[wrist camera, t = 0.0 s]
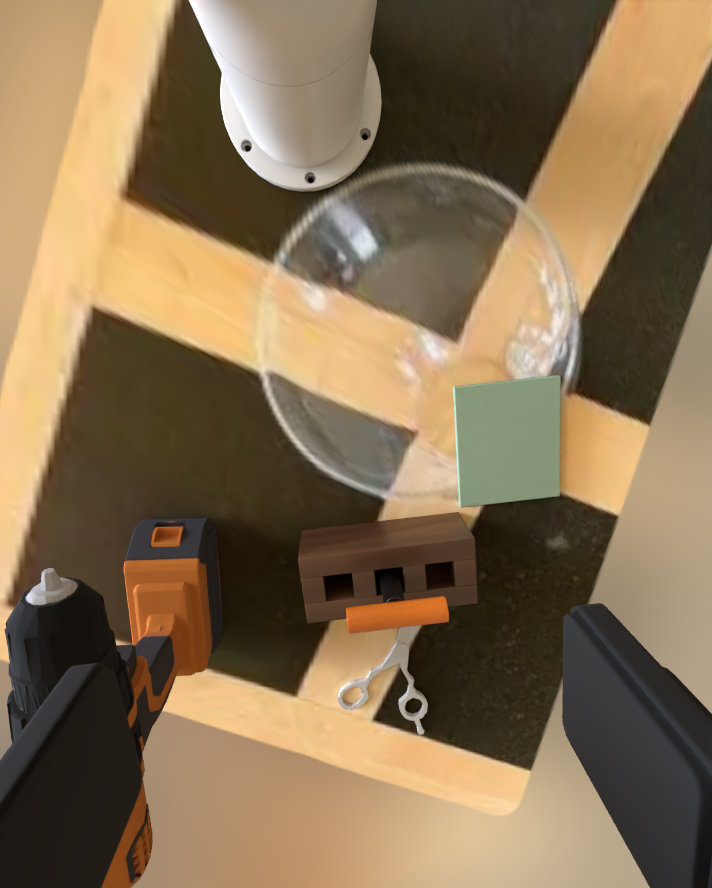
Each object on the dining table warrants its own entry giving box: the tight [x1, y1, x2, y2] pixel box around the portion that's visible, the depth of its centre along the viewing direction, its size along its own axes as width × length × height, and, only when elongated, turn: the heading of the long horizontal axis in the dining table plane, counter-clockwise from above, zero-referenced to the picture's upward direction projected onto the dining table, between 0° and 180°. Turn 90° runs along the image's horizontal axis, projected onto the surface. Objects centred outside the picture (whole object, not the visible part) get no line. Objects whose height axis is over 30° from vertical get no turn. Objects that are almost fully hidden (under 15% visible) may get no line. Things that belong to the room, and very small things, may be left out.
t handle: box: [346, 568, 449, 634], centre depth 44 cm, size 2×8×12 cm, turn 96°
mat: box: [453, 375, 561, 507], centre depth 47 cm, size 12×10×1 cm
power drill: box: [5, 518, 224, 888], centre depth 37 cm, size 22×7×25 cm, turn 0°
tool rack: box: [298, 512, 478, 623], centre depth 47 cm, size 7×16×6 cm, turn 96°
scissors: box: [338, 625, 428, 735], centre depth 53 cm, size 11×1×20 cm
